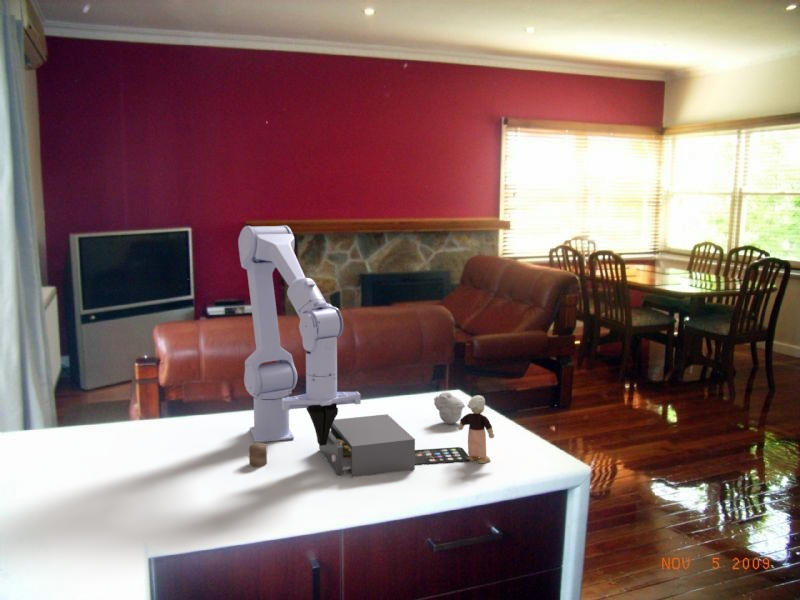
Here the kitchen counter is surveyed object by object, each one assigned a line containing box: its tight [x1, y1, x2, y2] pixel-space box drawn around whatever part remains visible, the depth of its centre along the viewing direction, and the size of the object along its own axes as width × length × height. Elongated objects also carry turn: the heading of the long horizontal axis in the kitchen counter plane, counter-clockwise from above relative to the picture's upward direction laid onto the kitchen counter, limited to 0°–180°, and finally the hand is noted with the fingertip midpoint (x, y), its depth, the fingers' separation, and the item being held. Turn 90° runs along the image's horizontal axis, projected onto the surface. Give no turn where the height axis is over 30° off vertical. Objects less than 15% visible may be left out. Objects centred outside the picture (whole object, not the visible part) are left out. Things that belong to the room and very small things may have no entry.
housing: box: [330, 413, 416, 478], centre depth 133 cm, size 16×12×6 cm
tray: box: [318, 430, 351, 477], centre depth 132 cm, size 15×12×5 cm
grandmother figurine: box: [457, 394, 495, 464], centre depth 132 cm, size 8×4×13 cm, turn 65°
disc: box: [337, 437, 351, 458], centre depth 132 cm, size 6×6×2 cm
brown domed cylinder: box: [248, 442, 268, 468], centre depth 130 cm, size 3×3×4 cm
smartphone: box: [415, 446, 471, 466], centre depth 134 cm, size 7×1×15 cm
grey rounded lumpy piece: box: [433, 391, 466, 425], centre depth 154 cm, size 6×7×7 cm
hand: (322, 443), depth 130 cm, fingers closed
